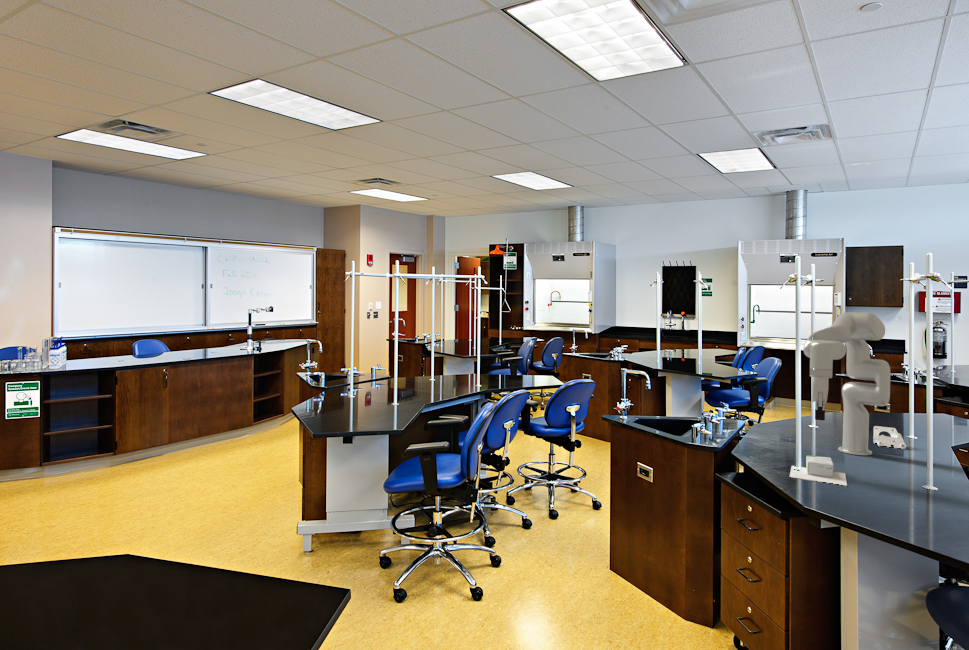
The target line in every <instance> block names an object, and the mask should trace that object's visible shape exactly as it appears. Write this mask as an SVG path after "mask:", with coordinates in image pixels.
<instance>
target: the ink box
mask: <svg viewBox="0 0 969 650" xmlns="http://www.w3.org/2000/svg"><path fill="white" fill-rule="evenodd" d="M805 468H807V473H808V474H812V475H819V476H826V477H833V475H834V472H835V465H834V462H833V460H832V458H831V457H827V456H817V455H807V454H806V456H805Z"/></svg>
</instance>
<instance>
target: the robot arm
mask: <svg viewBox="0 0 969 650" xmlns="http://www.w3.org/2000/svg"><path fill="white" fill-rule="evenodd" d="M885 335H886V327H885V324H884V322H883V321H882V320H881V318H879V317H878V316H877V315H876V314H874V313H872V312H866V311H865V312H864V311H863V312H861V311H860V312H858V311H856V312H855V311H853V312H851V311H848V312H842V313H840V314H839V315H837V317H836V318H835V320H834V321H833V323H832V324H831V326H829V327H826V328H823V329H820V330H817V331H815V332H813V333H811V334H810V335H809V336H808V338H807V339H805V341H804V344H803V354H804V355H805V356H806V357H807V358H809V377H811V378H812V383H811V402H812V403H815V409H814V415H815V416H814V419H815V420H816V421H825V419H826V409H825V404H827V401H828V394H829V379H832V378H833V364H834V363H833V362H834V360H835V361H836V360H837V361H838V360H841V359H842V358H844V357H845V356H846V364H845V365H846V367H845V369H846V370H845V371H846V375H847V377H849V378H850V379H852V380H853V379H854V380H855V379H856V380H861V381H862V380H863V381H873V382H875V383H868V382H860V381H859V382H858V381H849V382H846V383H844V384H843V385H842V388H841V397H842V403H843V406H842V407H843V416H842V417H843V419H842V420H843V421H842V445H841V446H838V448H837V451H839V452H841V453H844V454H847V455H848V454H849V455H856V456H871V455H873V451H872V450H871V449H869V431H870V430H869V425H870V413H869V411H868V410H867V408H866V407H865V405H867V406H876V407H885V406H887V405H889V403H890V399H891V398H890V397H891V366H890V365H889V362H888V361H886V360H884V359H880V358H879V359H876V358H871V356H870V354H871V351H870V349H871V348H870V346H869V344H868V343H867V342H866V341H880V340H882V339H884V337H885ZM812 337H813V343H812Z"/></svg>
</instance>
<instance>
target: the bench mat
mask: <svg viewBox="0 0 969 650" xmlns="http://www.w3.org/2000/svg"><path fill="white" fill-rule="evenodd" d="M794 466H795V465H791V467H790V472H789V478H790V477H791V479H796V478H797V480H804V481H810V482H816V481H817V482H818V483H822V482H826V483H825V484H829V483H833V484H832V485H835V484H839V485H838V486H841V485H843V486H842V487H847V486H848V483H847V477H846V476H847V475H846V473H845V472H838V471H834V475H833V477H826V476H819V475H812V474H808V473H807V468H806V466H805V467H804V466H801V467H802V469H801V470H800V471H797V470H794V469H793V467H794Z"/></svg>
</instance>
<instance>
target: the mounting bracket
mask: <svg viewBox="0 0 969 650" xmlns="http://www.w3.org/2000/svg"><path fill="white" fill-rule="evenodd" d="M881 432H886V433H888V434H889V435H890V436H887V435H884V434H881V435H880V433H881ZM875 443H877V444H876V445H877V446H878V447H880V446H887V447H886V448H889V447H894V448H893V449H897V448H901V449H900V450H905V449H907V443H906V442H905V441H904V438H903V436H902V434H901V433H899V432H898V431H897V429H896V428H895V427H888V426H880V425H879V426H878V425H874V426H873V444H875ZM891 445H893V446H891Z"/></svg>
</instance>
